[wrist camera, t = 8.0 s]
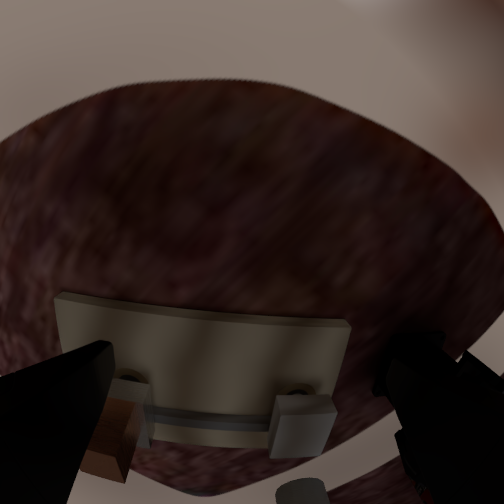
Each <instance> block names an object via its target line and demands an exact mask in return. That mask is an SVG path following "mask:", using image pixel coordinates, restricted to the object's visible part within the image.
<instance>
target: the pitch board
mask: <svg viewBox="0 0 504 504" xmlns="http://www.w3.org/2000/svg"><path fill="white" fill-rule="evenodd" d="M54 303H55V311H56V318H57V324H58V330H59V336H60V341H61V347H62V352H63V354H64V353H66V352H69V351H72V350H74V349H77V348H79V347H82V346H85V345H87V344H90V343H92V342H95V341H97V340H105V341H110V342H111V343H112V344H113V348H114V357H115V364H116V368H115V373H114V376H113V378H117V379H122V380H127V381H133V382H138V383H144V384H150V390H151V399H152V408H153V416H154V424H155V433H154V437H153V439H157V440H163V441H169V442H177V443H184V444H193V445H203V446H215V447H232V448H268V450H269V457H270V458H296V457H310V456H320V455H321V453H322V450H323V448H324V446H325V443H326V441H327V438H328V436H329V434H330V431H331V429H332V426H333V424H334V421H335V418H336V416H337V413H338V412H337V410H336V408H335V406H334V404H333V401H332V399H331V397H332V394H333V391H334V387H335V384H336V381H337V378H338V375H339V371H340V368H341V364H342V361H343V358H344V354H345V350H346V347H347V343H348V339H349V336H350V332H351V326H350V325H349V324H348V323H347V322H346V320H345V319H322V318H297V317H278V316H262V315H247V314H234V313H222V312H211V311H201V310H191V309H182V308H173V307H164V306H156V305H148V304H140V303H133V302H126V301H119V300H112V299H105V298H99V297H93V296H87V295H81V294H75V293H69V292H64V291H63V292H62V293H60V294H59V295H57V296H56V297H54Z"/></svg>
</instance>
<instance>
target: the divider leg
mask: <svg viewBox="0 0 504 504" xmlns="http://www.w3.org/2000/svg"><path fill="white" fill-rule="evenodd" d="M154 433H155V424H154V416H153V408H152V399H151V390H150V384H144V383H138V382H133V381H127V380H122V379H117V378H113V379H112V382H111V386H110V389H109V392H108V396H107V399H106V402H105V406H104V409H103V411H102V414H101V416H100V418H99V421H98V423H97V426H96V428H95V430H94V433H93V435H92V437H91V440H90V442H89V445H88V447H87V450H86V452H85V455H84V457H83V460H82V462H81V465H80V470H81V471H82V472H86V473H89V474H92V475H95V476H98V477H101V478H105V479H109V480H112V481H116V482H120V483H124V484H125V482H126V478H127V475H128V472H129V468H130V465H131V461H132V458H133V455H134V451H135V448H136V446H138V447H143V448H148V449H150V448H151V444H152V441H153V437H154Z"/></svg>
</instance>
